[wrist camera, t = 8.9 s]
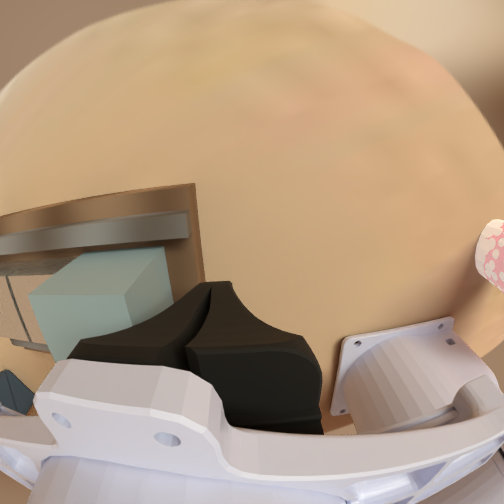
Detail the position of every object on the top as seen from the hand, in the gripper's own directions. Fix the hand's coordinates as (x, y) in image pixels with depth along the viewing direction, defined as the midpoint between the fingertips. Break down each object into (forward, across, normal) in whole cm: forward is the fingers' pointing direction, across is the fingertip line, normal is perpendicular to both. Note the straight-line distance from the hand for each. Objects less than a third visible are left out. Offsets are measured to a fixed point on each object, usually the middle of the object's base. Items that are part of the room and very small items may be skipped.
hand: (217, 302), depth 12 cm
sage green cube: (+2, +5, 0) cm, 5 cm away
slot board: (+4, +8, 0) cm, 9 cm away
